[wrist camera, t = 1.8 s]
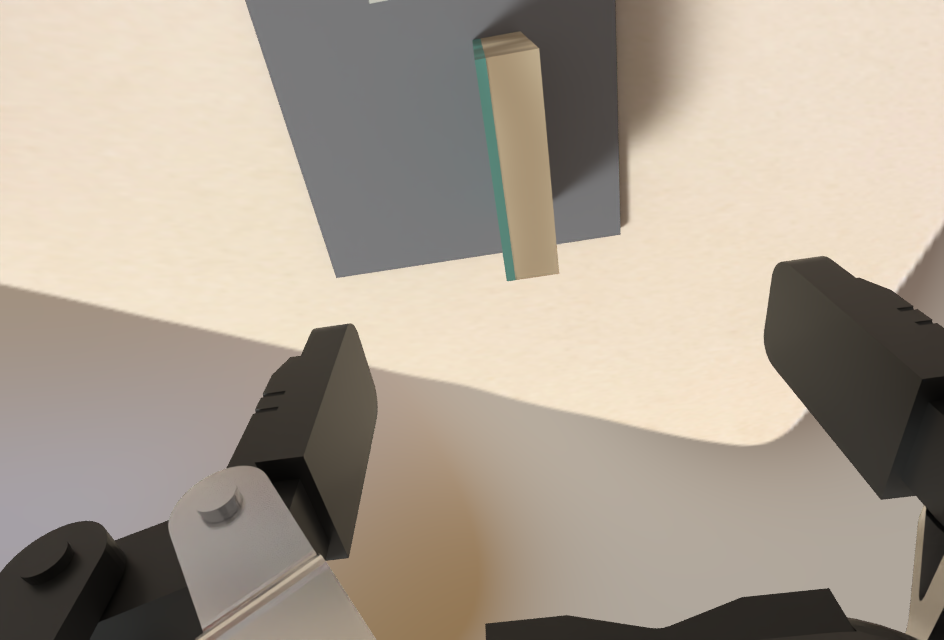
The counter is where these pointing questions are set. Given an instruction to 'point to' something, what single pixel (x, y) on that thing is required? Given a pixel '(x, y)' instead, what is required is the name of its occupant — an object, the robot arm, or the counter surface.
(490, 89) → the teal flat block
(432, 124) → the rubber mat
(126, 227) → the counter surface
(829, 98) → the counter surface
